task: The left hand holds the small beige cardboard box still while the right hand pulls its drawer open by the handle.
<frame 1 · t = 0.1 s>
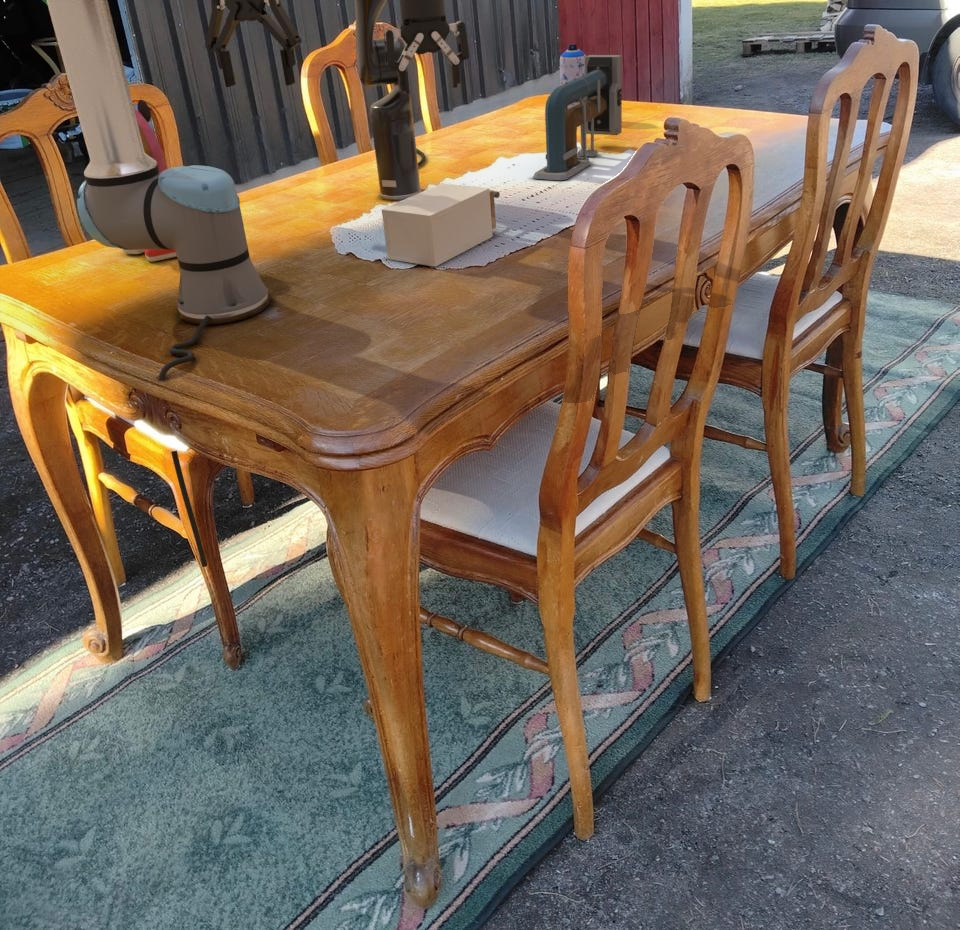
left hand: (260, 85, 196), 28 cm above the table, tool pointing down, fingers open, 13 cm apart
right hand: (430, 90, 169), 29 cm above the table, tool pointing down, fingers open, 8 cm apart
drawer: (456, 215, 188), point 5 cm above the table, slide at 1.0 cm
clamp: (578, 161, 236), on the table
toy: (158, 252, 197), on the table
beige cardboard box: (441, 247, 186), on the table
aerosol can: (574, 120, 278), on the table
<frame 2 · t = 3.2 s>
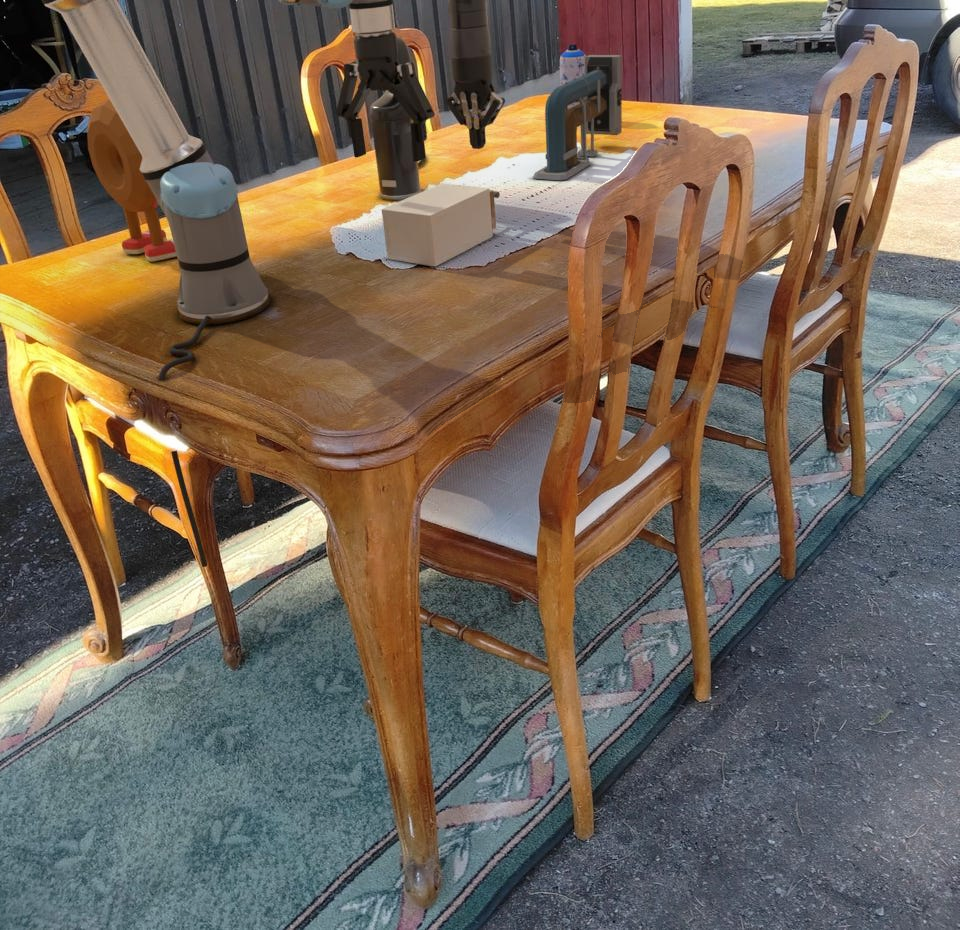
left hand: (389, 157, 179), 17 cm above the table, tool pointing down, fingers open, 13 cm apart
right hand: (478, 147, 188), 16 cm above the table, tool pointing down, fingers closed
nothing on the table moved.
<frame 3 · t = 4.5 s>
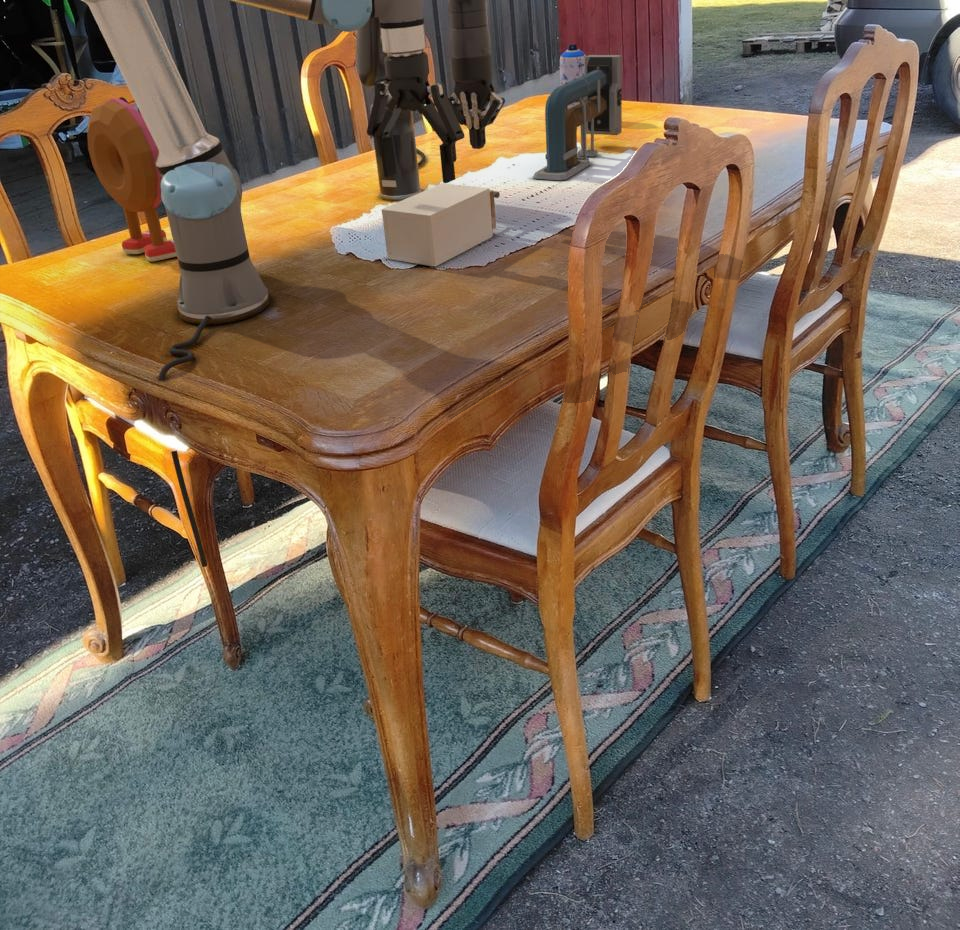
left hand: (419, 178, 176), 14 cm above the table, tool pointing down, fingers open, 13 cm apart
right hand: (478, 147, 188), 16 cm above the table, tool pointing down, fingers closed
nothing on the table moved.
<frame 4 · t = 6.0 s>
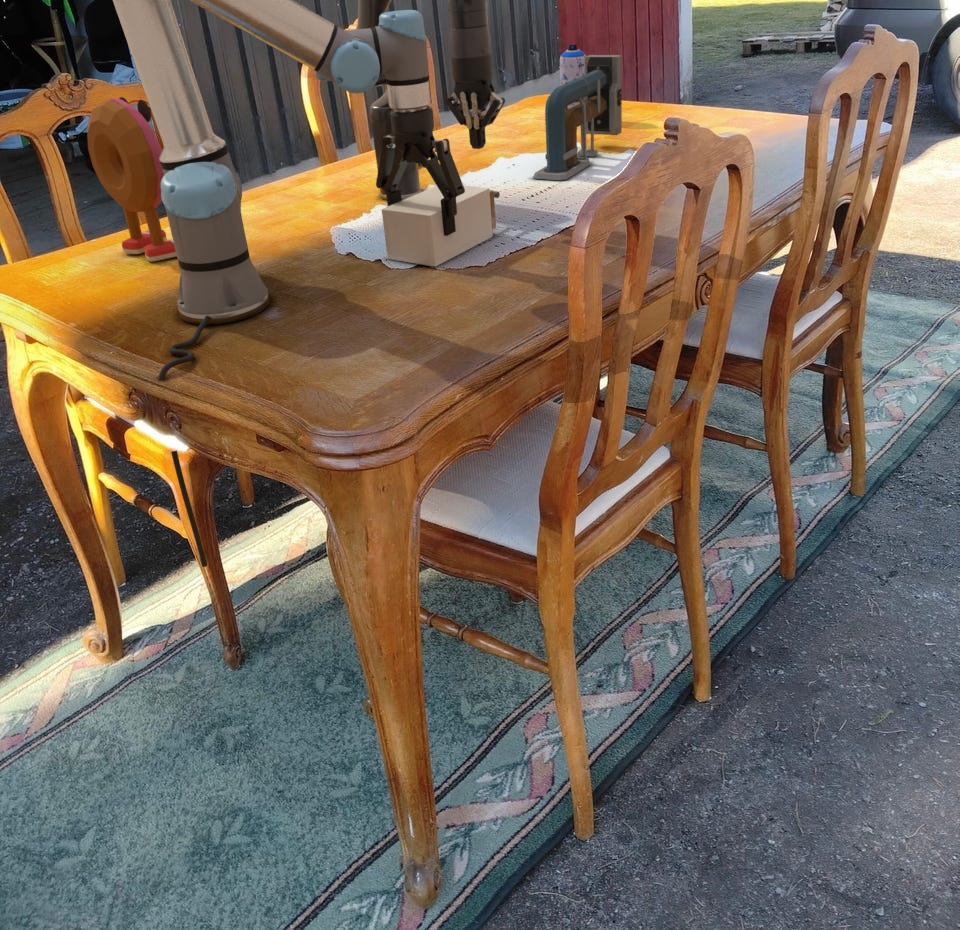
left hand: (423, 229, 181), 5 cm above the table, tool pointing down, fingers closed on beige cardboard box, 11 cm apart
right hand: (478, 147, 188), 16 cm above the table, tool pointing down, fingers closed
beige cardboard box: (441, 247, 186), on the table, touching left hand
everything else where it was.
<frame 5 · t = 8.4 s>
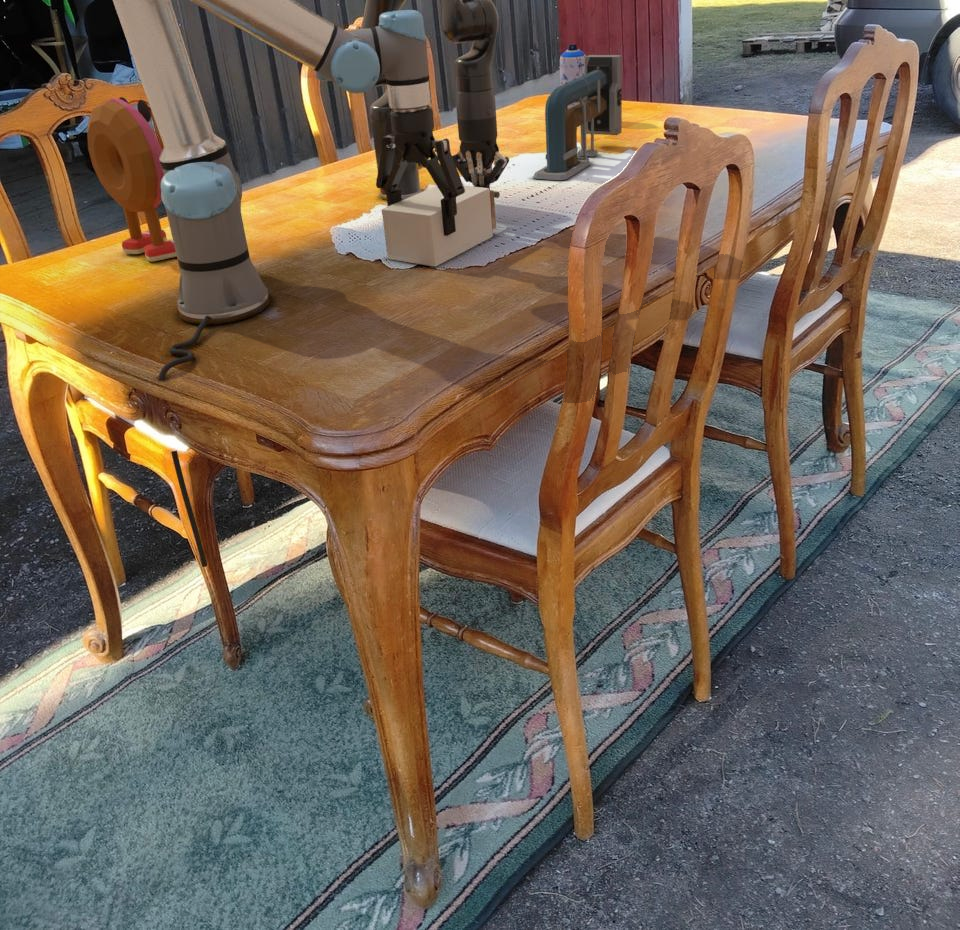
left hand: (423, 229, 181), 5 cm above the table, tool pointing down, fingers closed on beige cardboard box, 11 cm apart
right hand: (483, 203, 194), 4 cm above the table, tool pointing down, fingers closed
drawer: (456, 215, 188), point 5 cm above the table, slide at 1.0 cm, touching right hand
beige cardboard box: (441, 247, 186), on the table, touching left hand
everything else where it was.
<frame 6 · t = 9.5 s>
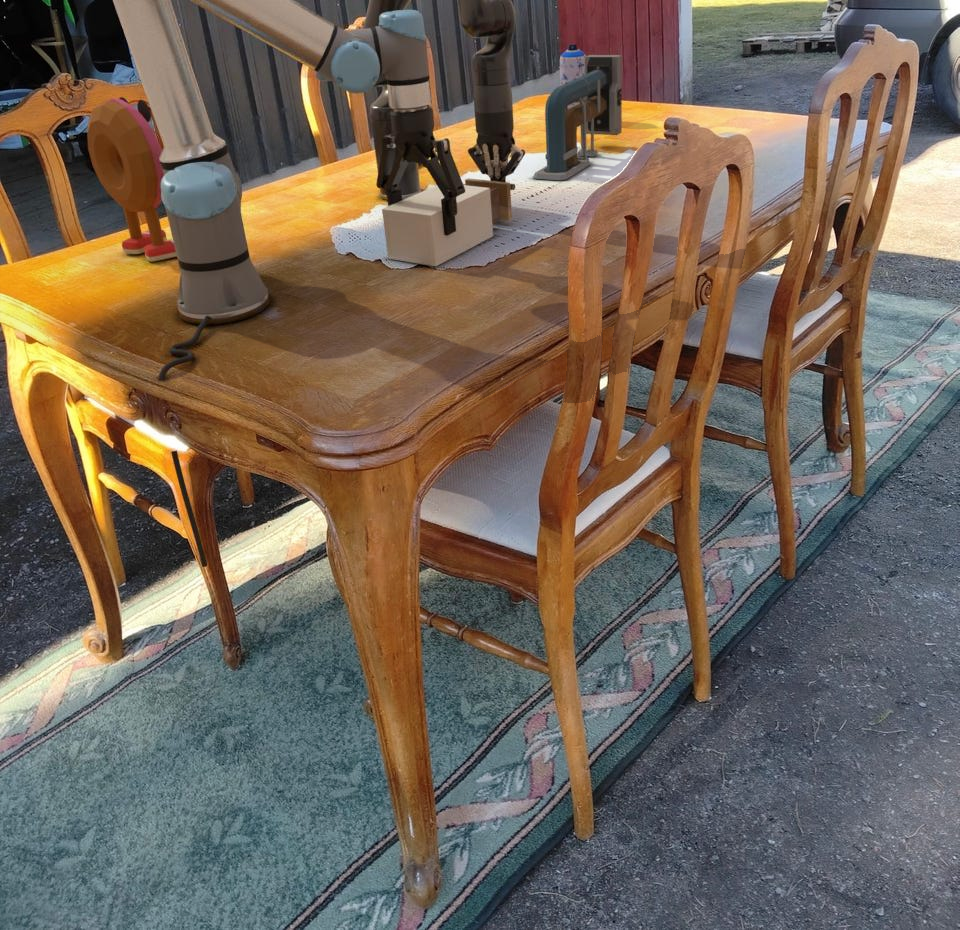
left hand: (424, 229, 181), 5 cm above the table, tool pointing down, fingers closed on beige cardboard box, 11 cm apart
right hand: (498, 195, 198), 5 cm above the table, tool pointing down, fingers closed
drawer: (473, 206, 192), point 5 cm above the table, slide at 6.6 cm, touching right hand
beige cardboard box: (441, 247, 186), on the table, touching left hand
everything else where it was.
when the left hand's fingers open (5 cm above the table, at t = 11.0 s): beige cardboard box stays where it is, on the table.
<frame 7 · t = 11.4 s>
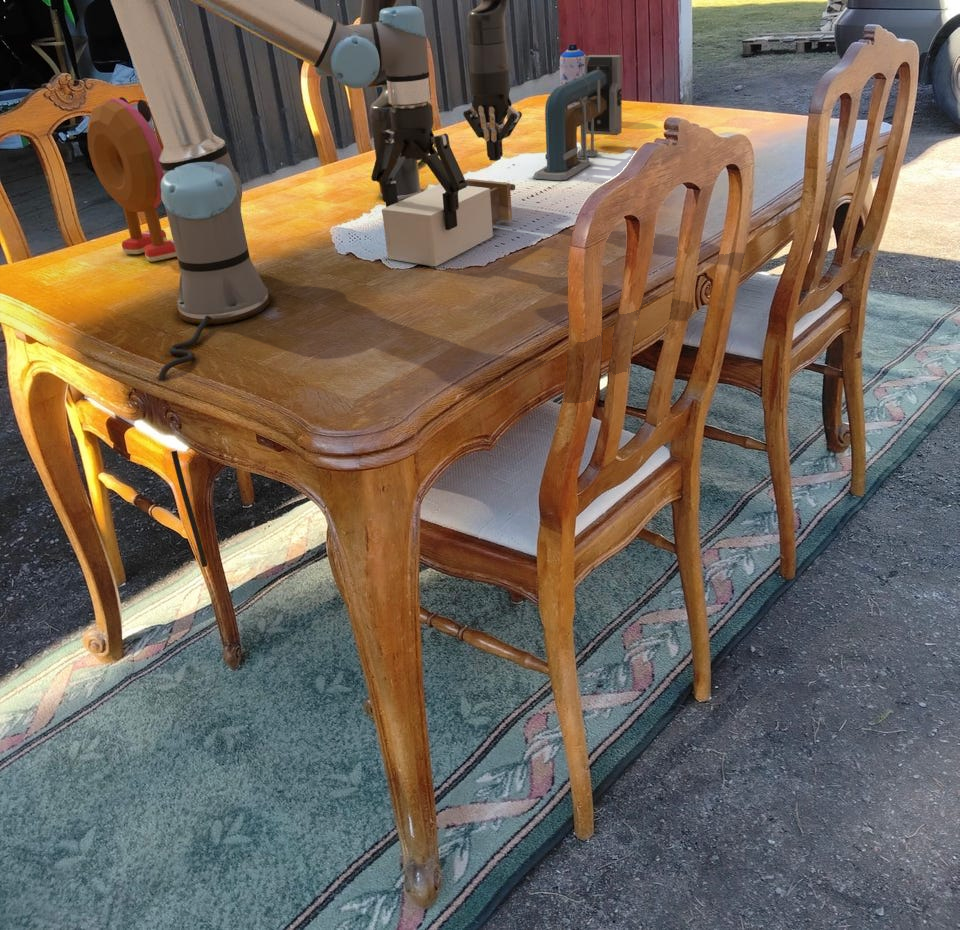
left hand: (422, 223, 180), 6 cm above the table, tool pointing down, fingers open, 13 cm apart
right hand: (495, 159, 194), 12 cm above the table, tool pointing down, fingers closed
drawer: (473, 207, 192), point 5 cm above the table, slide at 6.7 cm
beige cardboard box: (441, 247, 186), on the table
everything else where it was.
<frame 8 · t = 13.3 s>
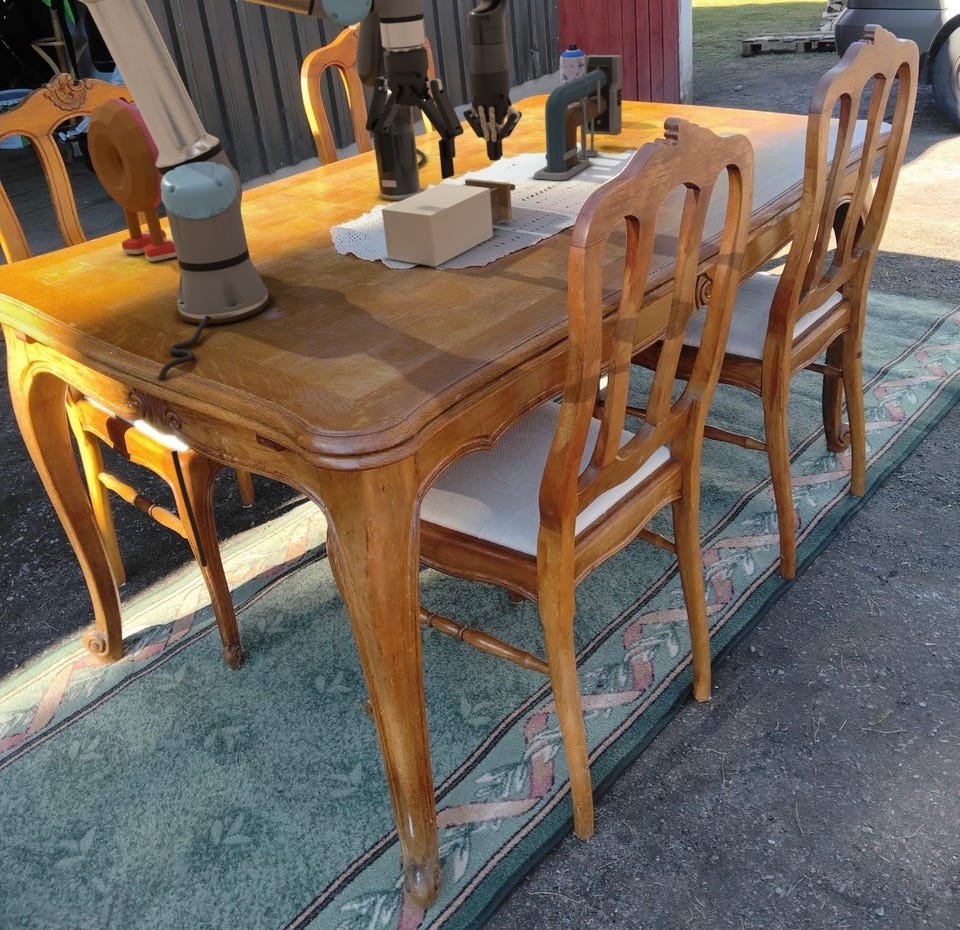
left hand: (418, 174, 175), 15 cm above the table, tool pointing down, fingers open, 13 cm apart
right hand: (495, 159, 194), 12 cm above the table, tool pointing down, fingers closed
nothing on the table moved.
at the end: drawer slide at 6.7 cm; beige cardboard box tilted 0°; beige cardboard box never tilted more than 1° during the clip; beige cardboard box moved 0.1 cm from its start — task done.
